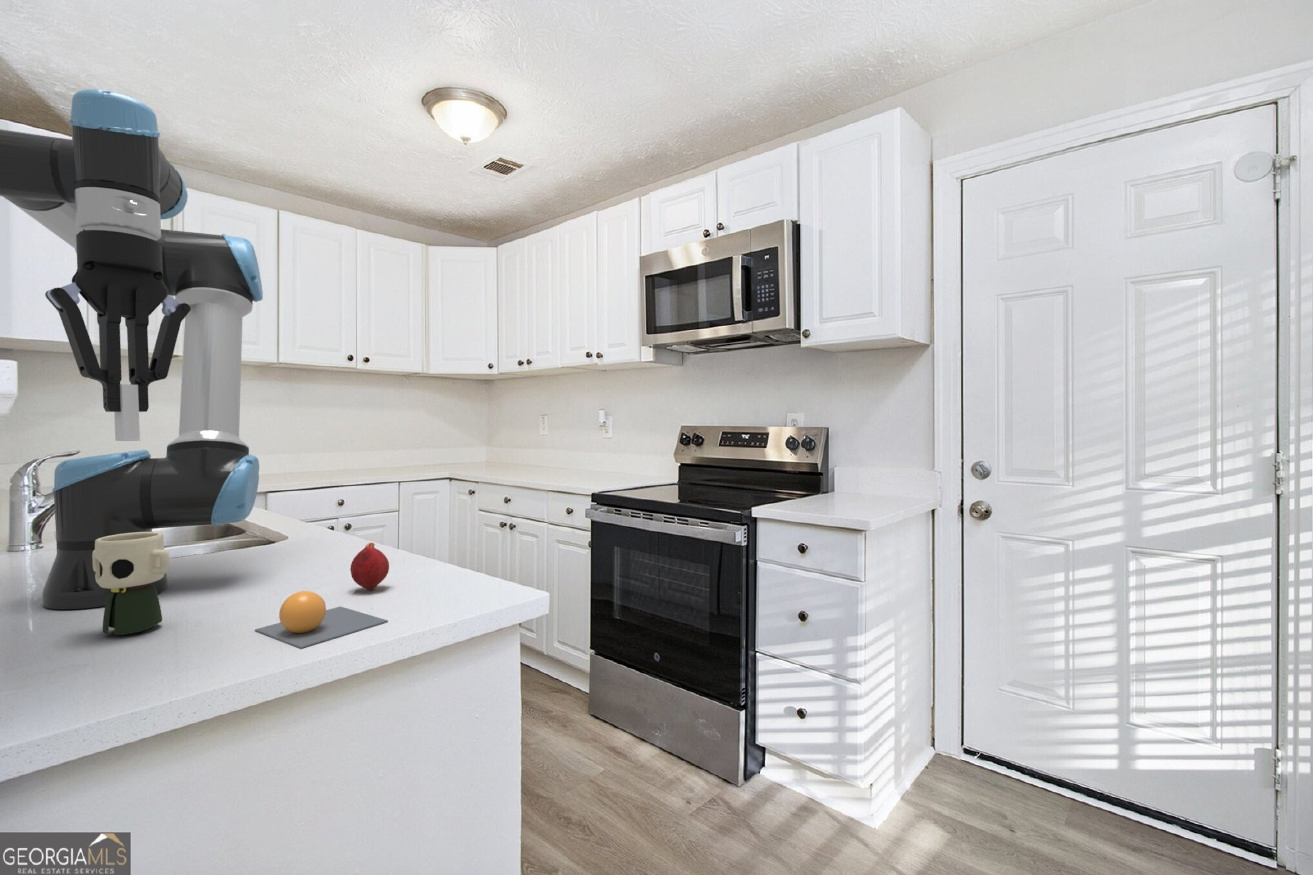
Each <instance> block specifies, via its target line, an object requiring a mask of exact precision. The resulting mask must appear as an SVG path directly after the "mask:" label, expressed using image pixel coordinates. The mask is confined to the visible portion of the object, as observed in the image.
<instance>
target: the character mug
mask: <svg viewBox="0 0 1313 875" xmlns="http://www.w3.org/2000/svg"><path fill="white" fill-rule="evenodd" d="M92 559H93V570H94V571H95V572H96V574H95V578H96V582H97V583H98V584H99V586H100V587H102V588H109V589H111V590H110V592H109V593H108V595H107V597H106V603H105V606H104V610H103V619H102V631H101V633H102V634H104V635H109V630H110V628H111V629H114V635H115V636H119V635H128V634H135V633H140V632H145V631H146V630H147V629H150V628H152V627H154V626H156V625H158V624H160V623H162V622H163V615H162V608H161V603H160V599H159V595H158V594H159V593H157V589H156V588H155V586H154V585H152V584H151V583H152V582H155V581H157V580H160V579H161V578H163V577H164V574H166V575H167V574H168V573H169V572H170V571H169V570H170V553H169V551H168V550H165V545H164V534H163V533H162V532H159V531H152V532H135V533H125V534H117V535H111V536H106V537H102V538H98V539H96V540H95V550H94V551H93V553H92Z"/></svg>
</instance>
